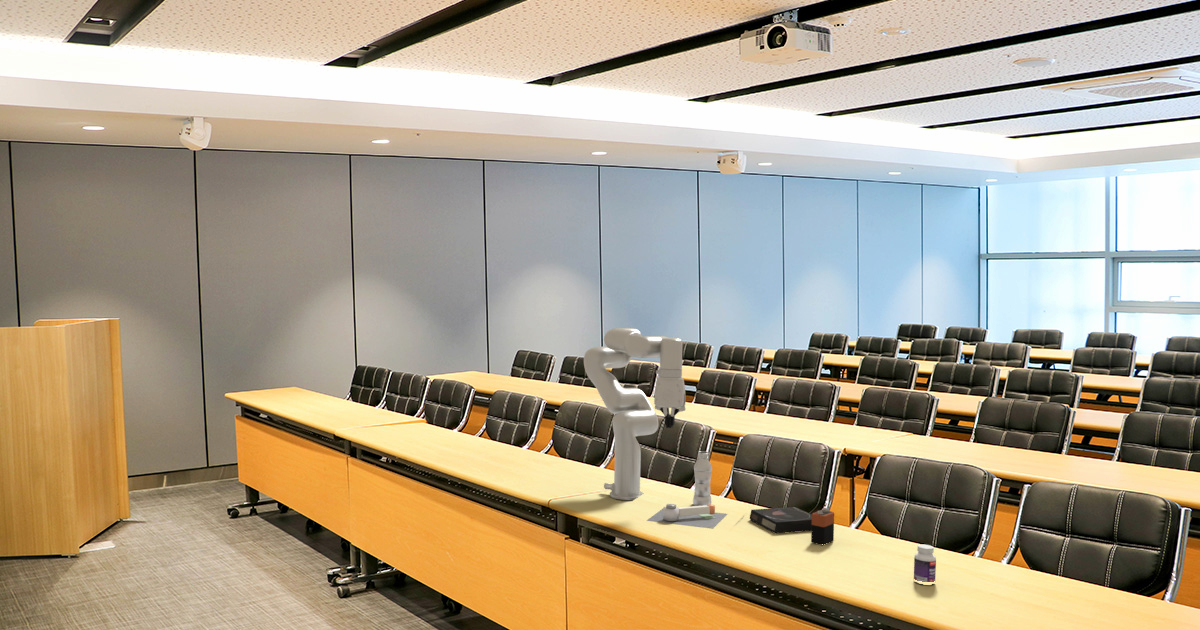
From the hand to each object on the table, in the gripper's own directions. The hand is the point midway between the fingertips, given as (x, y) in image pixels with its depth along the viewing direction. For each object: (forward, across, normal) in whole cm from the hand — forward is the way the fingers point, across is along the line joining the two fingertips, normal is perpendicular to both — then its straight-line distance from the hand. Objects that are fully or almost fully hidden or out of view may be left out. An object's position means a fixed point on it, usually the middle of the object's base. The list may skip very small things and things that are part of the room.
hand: (669, 427), depth 303 cm
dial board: (+29, +10, -10) cm, 32 cm away
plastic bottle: (+29, +10, +8) cm, 32 cm away
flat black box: (+30, +40, 0) cm, 50 cm away
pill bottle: (+29, +84, -42) cm, 98 cm away
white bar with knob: (+27, +11, -12) cm, 32 cm away
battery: (+29, +54, -15) cm, 63 cm away
